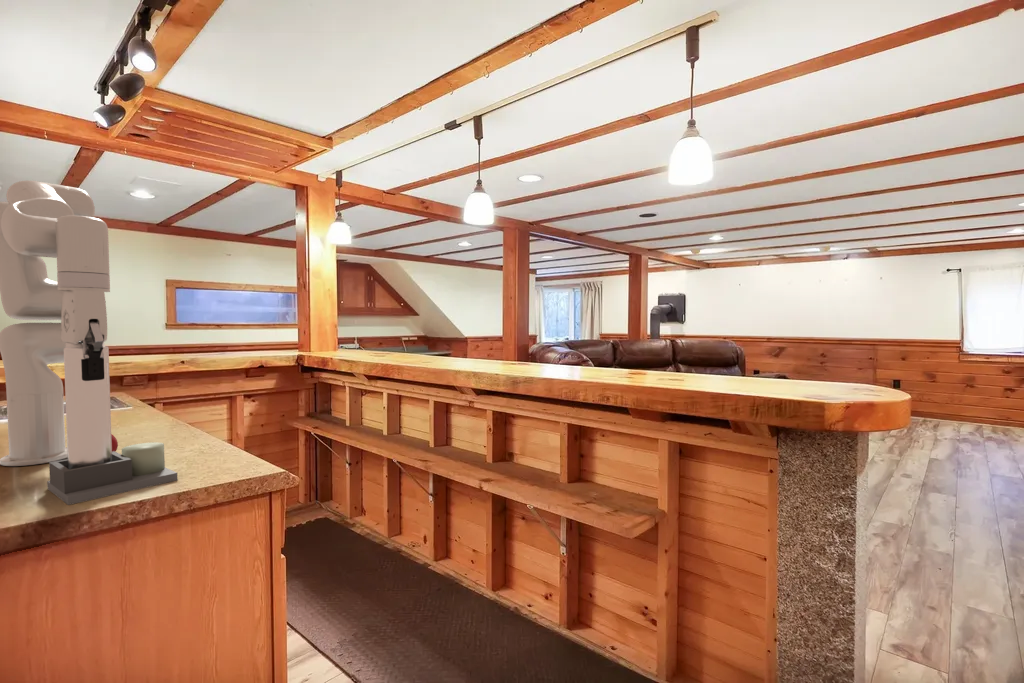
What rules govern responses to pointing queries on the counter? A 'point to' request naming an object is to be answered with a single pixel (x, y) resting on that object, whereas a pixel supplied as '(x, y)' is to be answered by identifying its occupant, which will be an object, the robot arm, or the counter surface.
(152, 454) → the grey desk organizer
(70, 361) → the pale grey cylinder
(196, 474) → the counter surface
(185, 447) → the counter surface
